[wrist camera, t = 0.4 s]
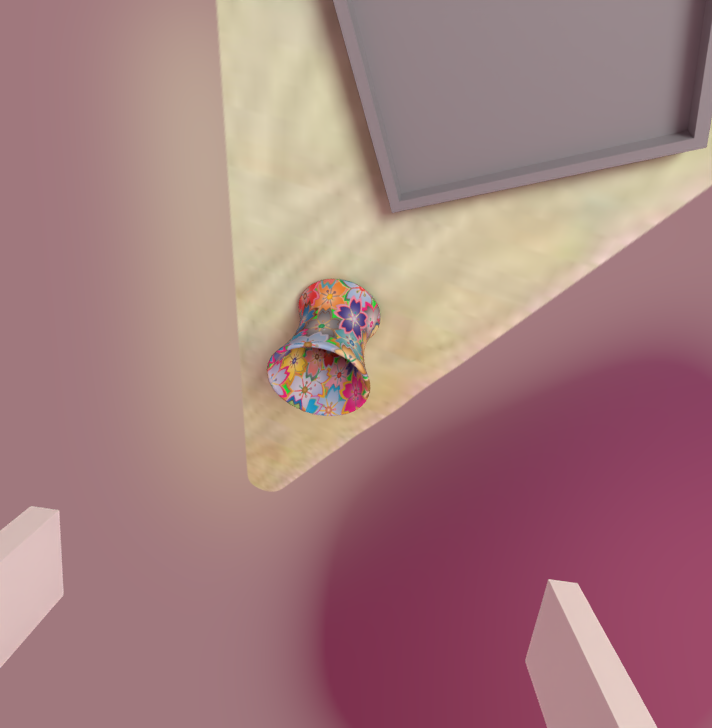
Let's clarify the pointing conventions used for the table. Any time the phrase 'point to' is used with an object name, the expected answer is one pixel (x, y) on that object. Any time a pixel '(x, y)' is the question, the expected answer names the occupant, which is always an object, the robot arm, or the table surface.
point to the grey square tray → (525, 88)
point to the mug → (327, 350)
